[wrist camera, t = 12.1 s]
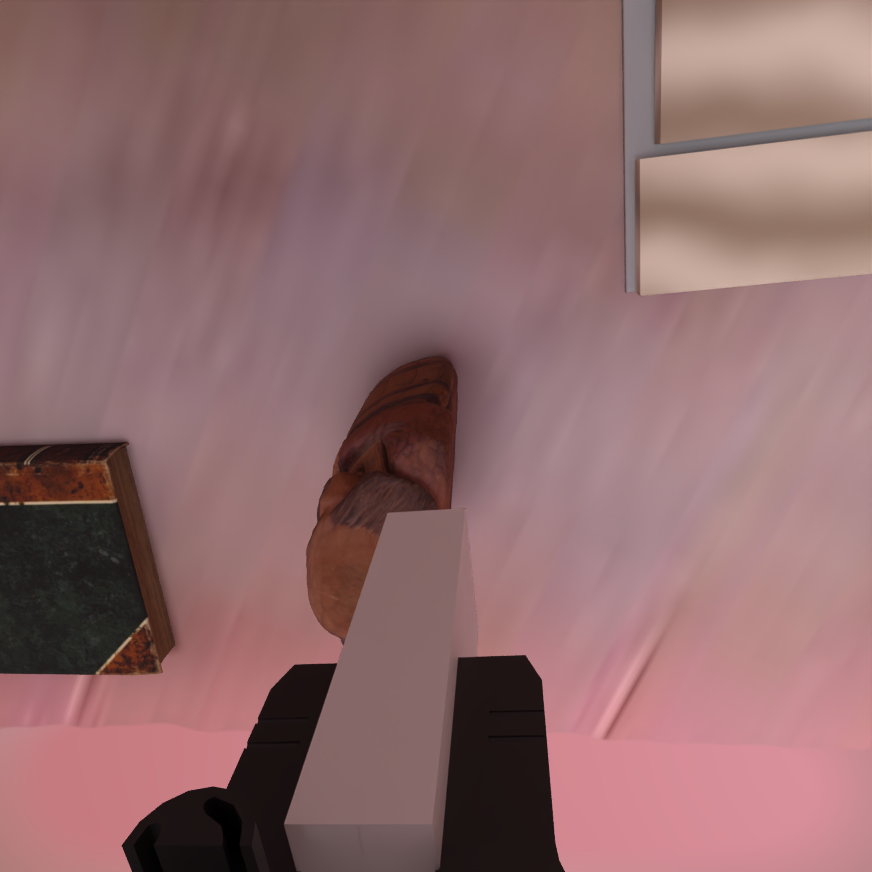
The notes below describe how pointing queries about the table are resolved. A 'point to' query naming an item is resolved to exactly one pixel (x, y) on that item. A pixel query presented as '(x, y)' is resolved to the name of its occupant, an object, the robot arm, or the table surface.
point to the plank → (759, 65)
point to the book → (77, 565)
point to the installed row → (754, 214)
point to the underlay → (642, 118)
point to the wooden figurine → (381, 481)
